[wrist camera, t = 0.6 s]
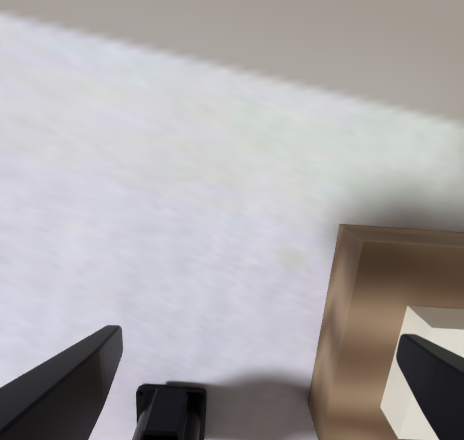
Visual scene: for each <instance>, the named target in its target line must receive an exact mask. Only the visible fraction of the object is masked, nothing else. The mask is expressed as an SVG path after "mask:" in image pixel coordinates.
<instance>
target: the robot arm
mask: <svg viewBox="0 0 464 440" xmlns="http://www.w3.org/2000/svg"><path fill="white" fill-rule="evenodd" d="M122 352H123V341H122V329H121V327H120V326H118V325H107V326H105V327H103V328H102V329H100V330H98V331H97V332H95V333H93V334H92V335H90V336H88V337H86V338H85V339H83V340H81V341H80V342H78V343H76V344H74V345H73V346H71V347H69V348H68V349H66V350H64V351H63V352H61V353H59V354H57V355H56V356H54V357H52V358H51V359H49V360H47V361H45V362H44V363H42V364H40V365H39V366H37V367H35V368H33V369H32V370H30V371H28V372H27V373H25V374H23V375H21V376H20V377H18V378H16V379H15V380H13V381H11V382H10V383H8V384H6V385H4V386H3V387H1V388H0V440H88V439H89V437H90V435H91V432H92V430H93V428H94V426H95V424H96V422H97V420H98V418H99V415H100V413H101V411H102V409H103V407H104V404H105V401H106V399H107V396H108V393H109V390H110V388H111V385H112V382H113V379H114V376H115V374H116V371H117V368H118V365H119V362H120V359H121V357H122ZM396 360H397V363H398V366H399V368H400V370H401V372H402V374H403V376H404V377H405V379H406V381H407V383H408V385H409V387H410V389H411V391H412V393H413V395H414V397H415V399H416V401H417V403H418V405H419V407H420V409H421V410H422V412H423V414H424V416H425V418H426V419H427V421H428V423H429V424H430V426H431V427H432V429H433V431H434V432H435V434H436V436H437V437H438V439H439V440H464V358H463V357H461V356H459V355H457V354H455V353H453V352H451V351H449V350H447V349H445V348H443V347H441V346H439V345H437V344H435V343H433V342H431V341H429V340H427V339H425V338H423V337H420V336H418V335H416V334H402V335H401V336H400V339H399V343H398V348H397V353H396ZM141 391H142V392H141ZM206 398H207V392H206V390H204V389H198V388H179V387H161V386H139V387H138V389H137V392H136V407H137V427H136V430H135V433H134V436H133V439H132V440H204V433H205V415H206Z"/></svg>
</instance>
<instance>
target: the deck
mask: <svg viewBox="0 0 464 440" xmlns="http://www.w3.org/2000/svg"><path fill="white" fill-rule="evenodd" d="M407 306H420V307H437V308H453V309H464V233H462V232H447V231H432V230H418V229H403V228H388V227H373V226H358V225H344V224H340V226H339V231H338V237H337V242H336V248H335V253H334V259H333V264H332V270H331V276H330V281H329V287H328V292H327V298H326V303H325V309H324V314H323V320H322V326H321V331H320V337H319V342H318V348H317V353H316V359H315V364H314V370H313V376H312V381H311V387H310V392H309V398H308V406H309V410H310V413H311V416H312V420H313V423H314V427H315V430H316V433H317V437H318V440H411V439H398V437H397V436H396V434H395V432H394V430H393V429H392V427H391V425H390V423H389V422H388V420H387V418H386V416H385V415H384V413H383V411H382V409H381V408H380V406H381V402H382V398H383V395H384V391H385V387H386V384H387V380H388V376H389V372H390V369H391V365H392V361H393V357H394V354H395V350H396V346H397V343H398V339H399V335H400V331H401V328H402V324H403V320H404V317H405V313H406V309H407Z"/></svg>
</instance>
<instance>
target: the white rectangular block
mask: <svg viewBox="0 0 464 440" xmlns="http://www.w3.org/2000/svg"><path fill="white" fill-rule="evenodd" d="M402 334H416V335H418V336H420V337H423V338H425V339H427V340H429V341H431V342H433V343H435V344H437V345H439V346H441V347H443V348H445V349H447V350H449V351H451V352H453V353H455V354H457V355H459V356H461V357H463V358H464V309H453V308H437V307H420V306H407V309H406V313H405V317H404V320H403V324H402V328H401V331H400V335H399V339H400V336H401V335H402ZM399 339H398V343H399ZM398 343H397V346H396V350H395V354H394V357H393V361H392V365H391V369H390V372H389V376H388V380H387V384H386V387H385V391H384V395H383V398H382V402H381V406H380V408H381V409H382V411H383V413H384V415H385V416H386V418H387V420H388V422H389V423H390V425H391V427H392V429H393V430H394V432H395V434H396V436H397V437H398V439H411V440H439V439H438V437H437V436H436V434H435V432H434V431H433V429H432V427H431V426H430V424H429V423H428V421H427V419H426V418H425V416H424V414H423V412H422V410H421V409H420V407H419V405H418V403H417V401H416V399H415V397H414V395H413V393H412V391H411V389H410V387H409V385H408V383H407V381H406V379H405V377H404V376H403V374H402V372H401V370H400V368H399V366H398V363H397V360H396V353H397V348H398Z"/></svg>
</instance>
